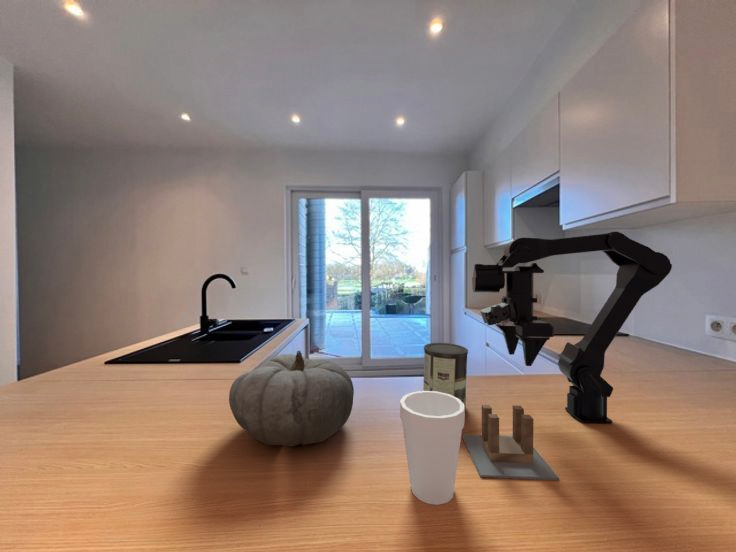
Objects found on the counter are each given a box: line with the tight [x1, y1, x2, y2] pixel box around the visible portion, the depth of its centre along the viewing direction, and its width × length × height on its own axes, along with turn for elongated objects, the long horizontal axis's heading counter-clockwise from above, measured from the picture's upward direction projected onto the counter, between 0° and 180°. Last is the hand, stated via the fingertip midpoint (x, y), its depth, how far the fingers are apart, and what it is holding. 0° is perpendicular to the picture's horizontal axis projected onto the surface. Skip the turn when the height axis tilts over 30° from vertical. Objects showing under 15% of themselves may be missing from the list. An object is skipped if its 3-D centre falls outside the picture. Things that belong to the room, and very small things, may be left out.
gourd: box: [228, 350, 355, 447], centre depth 64 cm, size 25×25×17 cm
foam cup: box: [399, 390, 466, 506], centre depth 46 cm, size 10×9×13 cm
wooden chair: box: [481, 404, 534, 463], centre depth 54 cm, size 7×5×8 cm
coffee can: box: [422, 342, 469, 410], centre depth 74 cm, size 10×10×14 cm
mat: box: [461, 434, 560, 481], centre depth 54 cm, size 12×12×1 cm
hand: (519, 359), depth 71 cm, fingers open, 9 cm apart
